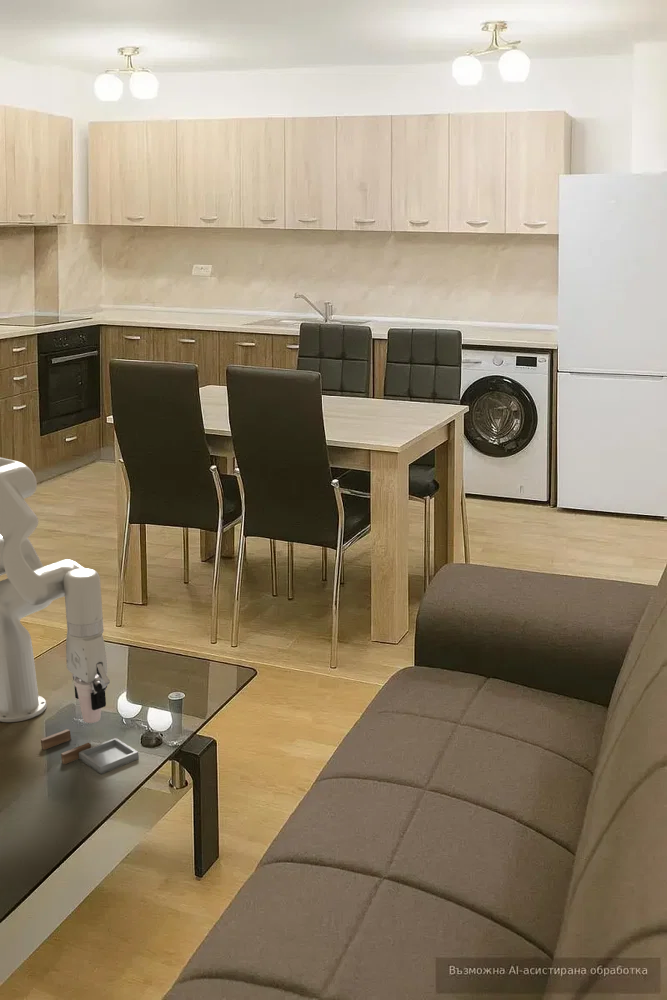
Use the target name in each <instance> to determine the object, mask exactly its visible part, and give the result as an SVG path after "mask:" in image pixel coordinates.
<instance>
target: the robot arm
mask: <svg viewBox="0 0 667 1000" xmlns="http://www.w3.org/2000/svg"><path fill="white" fill-rule="evenodd" d="M37 486H38V483H37V477H36V476H35V474H34V472H33V471H32V470H31V468H30V467H29V466H28V465H26V464H25V463H23V462H22V461H21V462H20V461H18V460H13V459H10V458H9V459H8V458H5V457H0V576H4V575H6V577H7V578H6V579H5V578H4V579H3V580H0V722H1V723H16V722H17V723H18V722H22V721H26V720H30V719H33V718H35V717H38V716H39V715H41V714H42V713H44V711H45V710H46V708H47V700H46V699H45V698H44V697H43V696H40V695H39V689H38V682H37V673H36V664H35V658H34V648H33V644H32V643H33V642H32V637H31V634H30V632H29V630H28V629H27V628H26V627H25V626H24V625H23V624H22V623H21V619H23V618H25V617H27V616H29V615H32V614H35V613H37V612H39V611H41V610H42V611H43V609H46V608H48V606H50V605H51V604H52V602H53V601H55V600H58V599H60V598H64V602H65V615H66V617H65V618H66V627H67V628H66V639H65V641H66V642H65V644H66V645H65V652H66V653H65V659H66V668H67V671H68V672H70V673H71V674H73V675H72V681H74V679H75V678H76V677H78V678H80V679H81V680H83V681H85V682H86V683H90V685H91V689H92V692H93V693H91V706H92V710H97V709H100V708H101V709H102V708H105V707H106V705H107V701H106V698H107V697H106V691H107V688H108V686H109V685H110V679H109V677H108V661H107V659H108V658H107V651H106V650H107V649H106V645H105V641H104V636H103V634H104V618H103V617H104V615H103V601H102V587H101V577H100V574H99V573H98V571H97V570H95V569H92V568H87V567H84V566H82V565H81V564H80V563H78V562H77V561H75V560H72V559H69V558H65V559H61V560H57V561H55V562H53V563H49V564H46V565H43V563H42V560H41V558H40V556H39V555H38V554H37V551H36V549H35V548H34V545H33V544H32V542H31V540H30V539H29V537H31V535H32V534H33V533H34V531H36V529H37V527H38V525H39V518H38V517H37V516H38V515H36V513H35V512H34V510H32V508H31V507H30V505H29V504H28V502H26V499H27V498H30V497H32V496H33V495H35V492H36V491H37ZM96 675H98V676H99V677H97V678H95V676H96ZM98 680H99V681H100V684H98V685H97V686H96V685H95V681H98ZM73 685H74V684H73ZM74 696H75V699H76V700H79V698H78V693H77V688H76V687H75V685H74Z"/></svg>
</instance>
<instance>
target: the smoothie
mask: <svg viewBox="0 0 667 1000" xmlns="http://www.w3.org/2000/svg"><path fill="white" fill-rule="evenodd" d="M97 677H99V676H98V675H96V676H95V678H97ZM73 683H74V684H73V685H75V686H74V688H75V687H76V688H77V693H78V698H79V699H78V701H79V702H78V703H79V707H80V711H81V715H82V721H83V722H84V723H87V724H93V723H98V722H99V721H100V720H101V717H102V715H101V714H102V708H100V709H97V710H92V706H91V693H93V692H92V689H91V685H90V683H86V682H85V681H83V680H81V679H80V678H78V677H76V678H75V679H74V680H73ZM98 684H100V681H99V680H98V681H95V685H96V686H97V685H98Z"/></svg>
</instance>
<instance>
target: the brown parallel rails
mask: <svg viewBox="0 0 667 1000" xmlns="http://www.w3.org/2000/svg"><path fill="white" fill-rule="evenodd" d="M71 740H72V737H71V730H70V729H68V728H66V729H64V730H62V731H59V732H56V733H53V734H51V735H48V736H45V737H43V738H41V739H40V746H41V750H43V751H46V750H48V749H50V748H53V747H55V746H58V745H60V744H63V743H66V742H69V741H71ZM91 747H92V744H91V743H90V742H87V743H84V744H81V745H79V746H76V747H74V748H71V749H69V750H66V751H64V752H61V754H60V757H61V764H63V765H67V764H70V763H72V762H74V761H76V760H80V759H79V752H81V751H83V750H86V749H89V748H91Z"/></svg>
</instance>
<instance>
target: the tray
mask: <svg viewBox="0 0 667 1000" xmlns="http://www.w3.org/2000/svg"><path fill="white" fill-rule="evenodd" d="M139 755H140V754H139V751H138V750H136V749H134V748H133V747H132V746H129V745H128V744H126V743H125V742H124V741H121V739H118V738H117V737H114V738H112V739H109V740H107V741H104V742H101V743H98V744H96V745H94V746H91V748H89V749H86V750H83V751H81V752H79V759H78V760H80V761H81V762H83V763H84V764H85V765H87V767H90V769H91V768H92V769H93V770H94V771H96V772H97V773H99V774H100V775H103V774H105V773H108V772H110V771H113V770H115V769H118V768H120V767H122V766H124V765H126V764H127V765H128V764H129V763H132V762H134V761H137V760H139V757H140V756H139Z"/></svg>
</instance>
